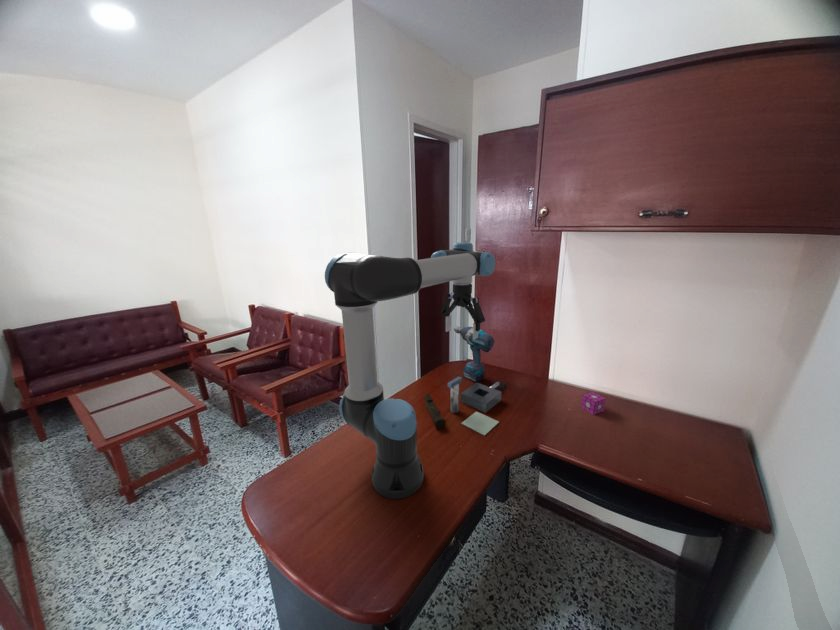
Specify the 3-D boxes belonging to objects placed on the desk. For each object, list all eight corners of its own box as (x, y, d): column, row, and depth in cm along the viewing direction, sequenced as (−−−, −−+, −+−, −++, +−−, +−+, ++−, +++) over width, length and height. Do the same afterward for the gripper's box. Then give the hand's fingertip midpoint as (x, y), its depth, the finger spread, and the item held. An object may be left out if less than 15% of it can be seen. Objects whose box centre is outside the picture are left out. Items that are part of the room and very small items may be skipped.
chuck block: (485, 412, 121) (486, 404, 120) (460, 401, 129) (460, 393, 128) (510, 392, 135) (510, 384, 134) (486, 383, 143) (486, 375, 142)
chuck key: (452, 416, 119) (452, 385, 116) (445, 413, 122) (445, 382, 118) (462, 408, 124) (463, 378, 120) (456, 405, 126) (456, 375, 123)
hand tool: (445, 428, 113) (446, 417, 112) (435, 429, 112) (435, 418, 111) (432, 400, 131) (432, 390, 130) (423, 402, 130) (423, 392, 129)
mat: (484, 435, 108) (484, 434, 108) (461, 424, 115) (461, 423, 115) (499, 422, 115) (499, 421, 115) (476, 412, 122) (476, 411, 122)
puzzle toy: (590, 404, 126) (592, 391, 124) (603, 411, 121) (605, 398, 119) (580, 407, 124) (582, 394, 122) (593, 415, 119) (595, 402, 117)
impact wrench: (459, 366, 160) (460, 320, 153) (495, 382, 144) (498, 332, 136) (449, 371, 156) (449, 324, 148) (484, 388, 139) (486, 336, 132)
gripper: (495, 285, 114) (493, 339, 120) (443, 278, 131) (443, 325, 137) (484, 288, 109) (482, 344, 115) (431, 281, 126) (432, 330, 132)
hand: (461, 334), depth 126 cm, fingers open, 13 cm apart
